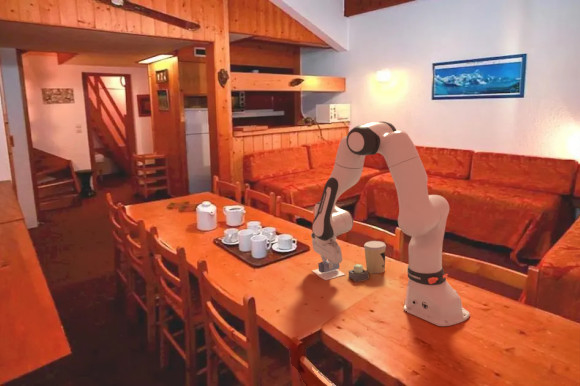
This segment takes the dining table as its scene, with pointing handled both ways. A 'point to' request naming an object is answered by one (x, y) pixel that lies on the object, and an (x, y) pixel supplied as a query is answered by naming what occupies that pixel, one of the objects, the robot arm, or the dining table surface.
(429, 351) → the dining table surface
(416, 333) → the dining table surface
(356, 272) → the button
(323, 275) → the paper
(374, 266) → the coffee cup
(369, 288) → the dining table surface
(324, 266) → the grey rectangular block
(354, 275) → the button housing
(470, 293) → the dining table surface
